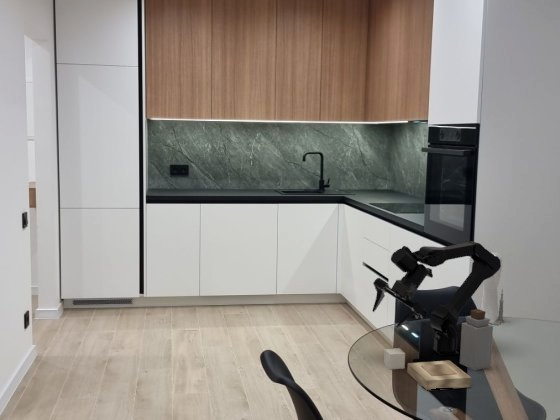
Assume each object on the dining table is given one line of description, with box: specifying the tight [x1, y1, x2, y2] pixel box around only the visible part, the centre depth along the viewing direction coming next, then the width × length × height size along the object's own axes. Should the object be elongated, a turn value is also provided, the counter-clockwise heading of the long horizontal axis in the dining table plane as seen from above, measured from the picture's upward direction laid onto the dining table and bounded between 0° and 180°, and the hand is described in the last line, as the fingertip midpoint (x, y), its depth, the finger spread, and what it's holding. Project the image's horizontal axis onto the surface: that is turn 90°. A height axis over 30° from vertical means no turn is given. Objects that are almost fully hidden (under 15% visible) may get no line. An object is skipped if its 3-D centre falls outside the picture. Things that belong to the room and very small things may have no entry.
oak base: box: [406, 360, 472, 391], centre depth 205 cm, size 14×14×3 cm
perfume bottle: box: [459, 308, 494, 371], centre depth 217 cm, size 7×7×18 cm
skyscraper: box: [480, 252, 504, 326], centre depth 261 cm, size 8×8×28 cm
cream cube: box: [383, 347, 406, 370], centre depth 216 cm, size 5×5×5 cm
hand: (384, 319), depth 217 cm, fingers open, 9 cm apart
